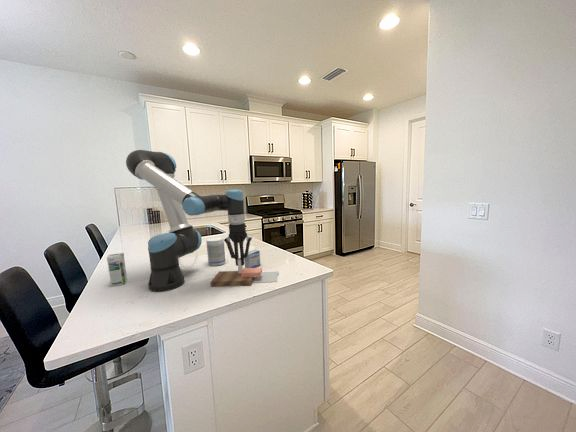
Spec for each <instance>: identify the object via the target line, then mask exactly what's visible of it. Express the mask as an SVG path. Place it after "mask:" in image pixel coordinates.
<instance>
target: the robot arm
mask: <svg viewBox="0 0 576 432" xmlns="http://www.w3.org/2000/svg"><path fill="white" fill-rule="evenodd" d="M125 165H126V168H127V170H128V172H130V174H131V175H132V176H134V177H135V178H137V179H139V180H140V181H142V180H144V181H145V182H147V183H149V184H150V185H151V186H153V187H155V189H156V191H157V194H158V197H159V199H160V202H161V205H162V208H163V212H164V214H165V217H166V220H167V222H168V224H169V230H168V232H164V233H160V234H157V235H154V236H152V237H151V238H150V239H148V242H147V251H148V257H149V263H150V264H149V265H150V275H149V280H148V289H149V291H151V292H165V291H171V290H174V289H176V288H179V287H181V286H182V285H184V283H185V282H186V279H185V277H186V276H185V274H184V272H183V271H182V268H181V267H180V262H179V259H180V258H183V257H184V256H186V255H189V254H193V253H194V252H196V251H198V250H199V249H200V247H201V245H202V235H201V233H200V232H199V231H198V230H197V229H194V227H193V225H192V224H190V223H189V221H188V219H187V216H199V215H203V214H208V213H214V212H218V211H219V212H220V211H221V212H222V211H225V212H226V211H227V218H228V219H227V220H228V221H227V222H228V232H229V234H228V236H227V237H226V238H223V240H224V243H226V246H227V250H228V252H229V255H230V258H231V259H235V261H234V262H235V266H236V267H237V269H238V270H237V271H238V272H239V273H241V272H242V270H243V268H244V267H243V266H245V261H244V258H246V257H247V256H248V252H249V249H250V244H251V241H252V239H253V236H249V235H248V234H247V231H246V230H247V229H246V223H245V222H246V217H245V216H246V215H245V198H244V193H243V192H244V191H243V190H242V189H229V190H228V189H227V190H226V191H225V194H207V195H200V194H198V193H197V192H196V191H193V190H192V189H191V188H189V187H187V186H186V185H184V184H182V183H181V182H180V181H178V180H177V179H175V176H176V174H175V173H176V171H177V163H176V159H174V157H173V156H171V155H170V154H169V153H166V152H162V151H153V150H145V149H137V150H133V151H132V152H130V153H129V154H127V157H126V160H125ZM186 215H187V216H186ZM245 240H246V244H245V247H244V242H245ZM231 241H232V243H233V246H232V243H231ZM233 247H234V248H233ZM244 248H245V249H244ZM244 253H245V255H244Z"/></svg>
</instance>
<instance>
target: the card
mask: <svg viewBox="0 0 576 432" xmlns="http://www.w3.org/2000/svg"><path fill="white" fill-rule="evenodd" d="M262 272H263V268H262V267H255V268H245V267H243V270H242V272H241V277H254V278H255V277H260V276H261V273H262Z"/></svg>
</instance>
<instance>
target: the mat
mask: <svg viewBox="0 0 576 432" xmlns="http://www.w3.org/2000/svg"><path fill="white" fill-rule="evenodd" d="M278 275H279V271H262V273H261V276H260V277H254V279H253V282H252V284H257V283H258V284H259V283H277V282H278V277H279V276H278Z"/></svg>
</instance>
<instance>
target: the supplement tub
mask: <svg viewBox="0 0 576 432" xmlns="http://www.w3.org/2000/svg"><path fill="white" fill-rule="evenodd" d="M206 251H207V262H208V265H209V266H211V267H217V266H219V267H220V266H222V265H224V264H225V263H226V252H225V241H224V237H220V236H219V237H218V236H217V237H211V238H207V239H206Z"/></svg>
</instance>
